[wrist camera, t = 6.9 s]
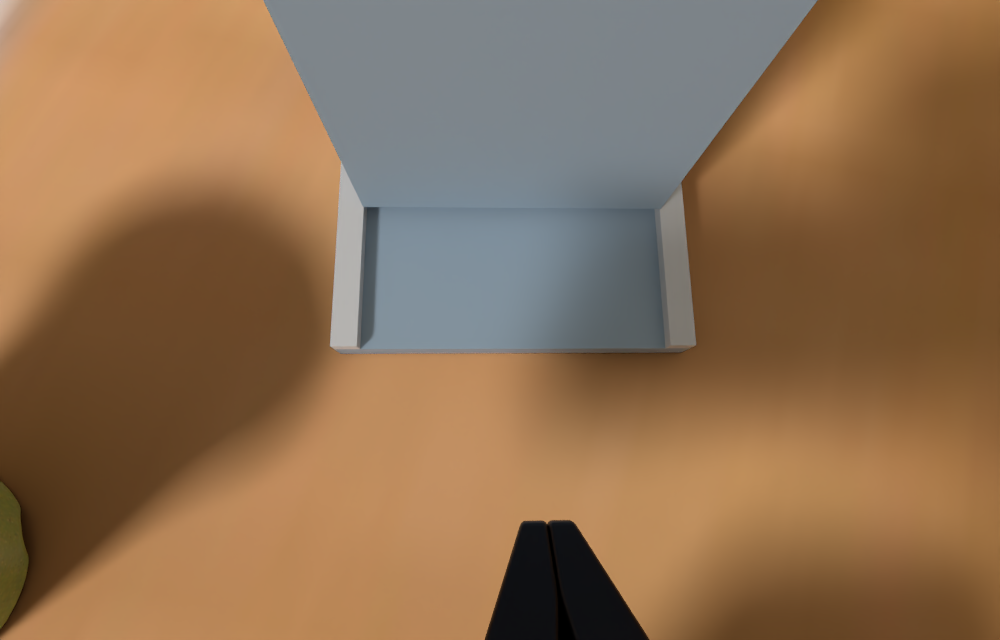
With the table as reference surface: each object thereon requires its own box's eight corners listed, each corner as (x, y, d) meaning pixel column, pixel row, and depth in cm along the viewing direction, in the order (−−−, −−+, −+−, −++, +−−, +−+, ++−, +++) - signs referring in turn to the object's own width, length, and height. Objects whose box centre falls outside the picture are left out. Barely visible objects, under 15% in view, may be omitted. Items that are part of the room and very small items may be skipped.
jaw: (660, 208, 18) (874, -76, 8) (362, 207, 18) (219, -93, 8) (655, 145, 18) (850, -194, 9) (366, 142, 18) (234, -214, 8)
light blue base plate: (681, 352, 18) (696, 345, 17) (340, 353, 18) (329, 346, 17) (650, -3, 22) (661, -31, 20) (360, -9, 21) (353, -38, 20)
